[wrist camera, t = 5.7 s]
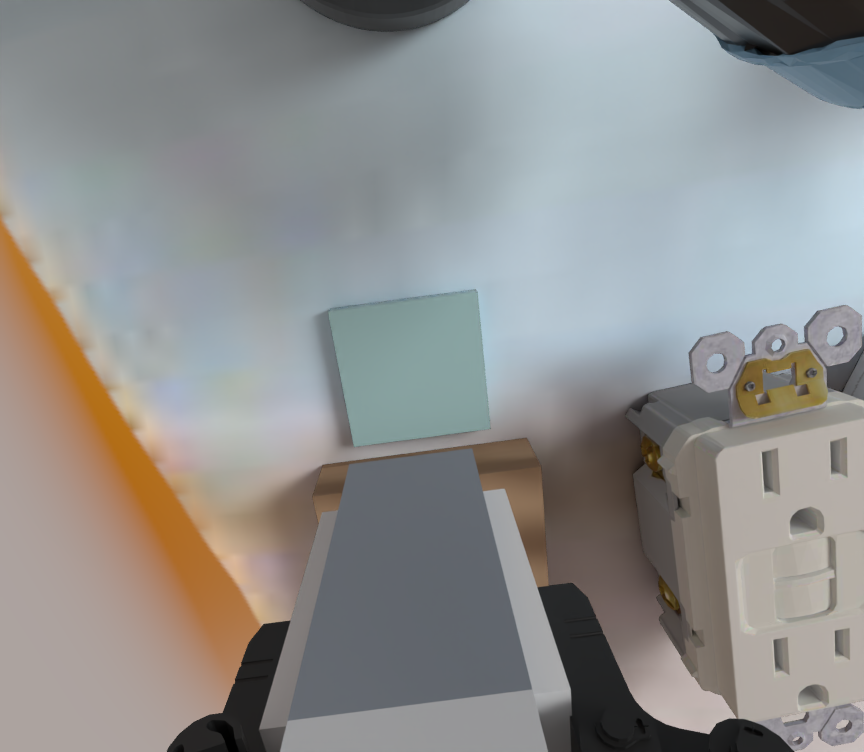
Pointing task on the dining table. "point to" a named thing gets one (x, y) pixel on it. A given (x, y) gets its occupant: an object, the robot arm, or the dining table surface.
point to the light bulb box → (856, 381)
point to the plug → (413, 622)
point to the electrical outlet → (762, 526)
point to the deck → (412, 367)
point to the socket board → (497, 470)
